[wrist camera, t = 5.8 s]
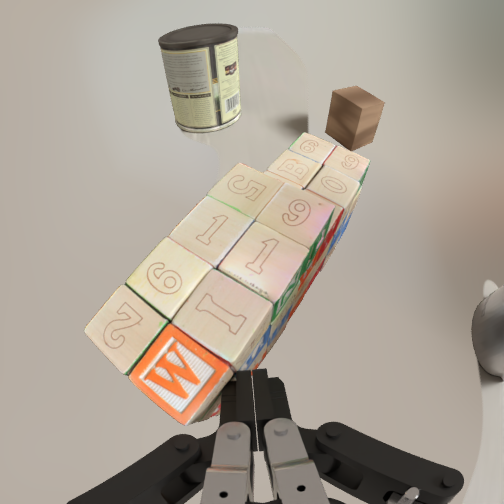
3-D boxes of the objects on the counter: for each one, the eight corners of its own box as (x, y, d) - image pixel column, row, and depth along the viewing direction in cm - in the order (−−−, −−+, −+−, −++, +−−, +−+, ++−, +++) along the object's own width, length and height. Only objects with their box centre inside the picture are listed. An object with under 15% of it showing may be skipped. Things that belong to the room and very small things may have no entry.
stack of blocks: (294, 201, 30) (309, 100, 19) (346, 228, 28) (384, 131, 18) (159, 370, 21) (77, 329, 10) (220, 417, 19) (181, 429, 9)
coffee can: (184, 101, 42) (172, 27, 30) (244, 99, 42) (242, 21, 30) (166, 134, 37) (145, 47, 25) (237, 133, 36) (231, 38, 24)
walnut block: (372, 142, 36) (384, 102, 30) (350, 151, 35) (362, 108, 29) (347, 124, 38) (356, 85, 32) (325, 132, 37) (332, 90, 31)
